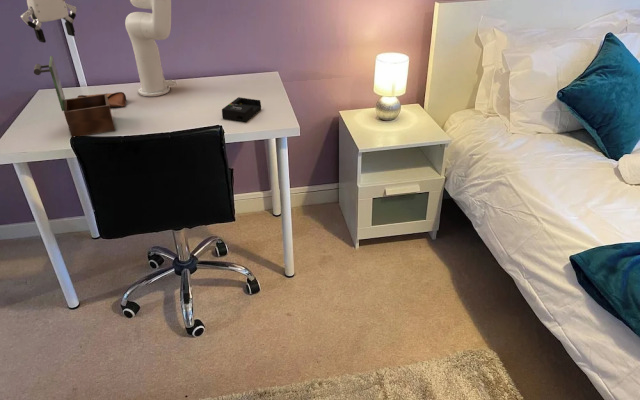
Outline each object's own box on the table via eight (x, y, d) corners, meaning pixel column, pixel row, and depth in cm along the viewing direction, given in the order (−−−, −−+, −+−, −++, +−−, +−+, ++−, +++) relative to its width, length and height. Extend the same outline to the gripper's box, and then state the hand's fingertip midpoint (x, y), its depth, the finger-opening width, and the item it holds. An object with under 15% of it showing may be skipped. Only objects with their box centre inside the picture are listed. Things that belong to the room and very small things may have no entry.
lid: (52, 55, 162) (33, 57, 160) (51, 66, 152) (31, 68, 150) (65, 98, 170) (46, 100, 168) (64, 110, 160) (45, 113, 158)
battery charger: (245, 123, 175) (244, 112, 173) (222, 119, 178) (221, 109, 176) (261, 109, 185) (260, 100, 183) (239, 106, 188) (238, 96, 186)
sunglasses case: (75, 111, 184) (72, 93, 183) (80, 114, 190) (77, 97, 190) (125, 106, 188) (122, 89, 187) (128, 109, 194) (125, 92, 194)
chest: (112, 117, 180) (106, 93, 175) (115, 130, 170) (108, 105, 165) (71, 123, 175) (64, 99, 170) (71, 137, 166) (63, 112, 160)
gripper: (61, -25, 153) (76, 31, 162) (4, -17, 141) (24, 42, 151) (74, -22, 149) (88, 34, 159) (17, -15, 138) (36, 46, 147)
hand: (57, 38), depth 155 cm, fingers open, 9 cm apart
